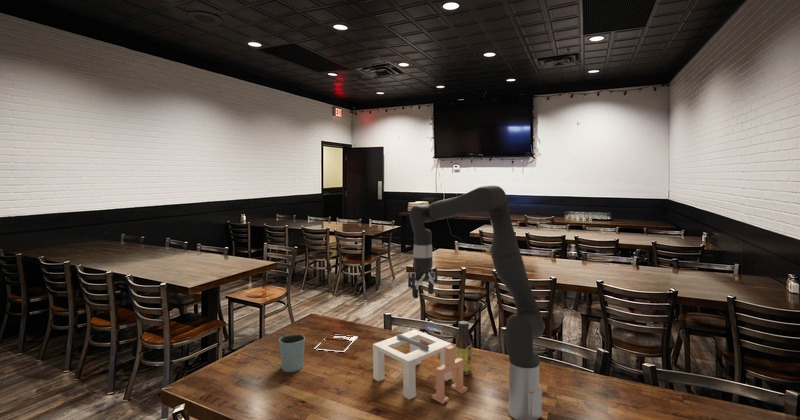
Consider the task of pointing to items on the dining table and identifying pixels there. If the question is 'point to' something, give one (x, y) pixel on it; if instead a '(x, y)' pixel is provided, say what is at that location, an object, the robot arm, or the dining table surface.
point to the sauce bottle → (464, 347)
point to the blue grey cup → (292, 352)
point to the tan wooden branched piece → (447, 367)
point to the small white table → (408, 357)
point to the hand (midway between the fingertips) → (423, 295)
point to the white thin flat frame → (343, 338)
